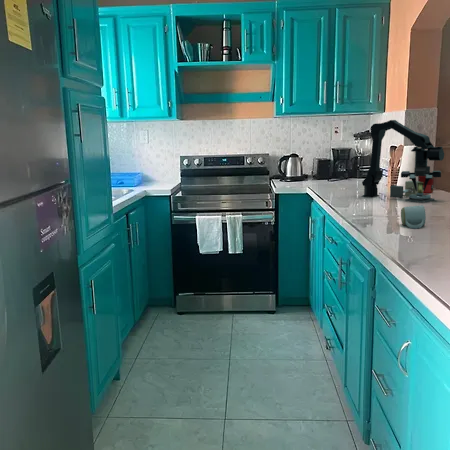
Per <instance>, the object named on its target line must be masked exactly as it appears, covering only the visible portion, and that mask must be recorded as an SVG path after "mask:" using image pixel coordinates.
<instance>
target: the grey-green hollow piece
mask: <svg viewBox="0 0 450 450" xmlns="http://www.w3.org/2000/svg"><path fill="white" fill-rule="evenodd" d="M418 182H420V181H418V180H416V183H417V191H418ZM404 185H405V186H404V187H405V189H410V188H413V191H412V192H407V193H404V194H403V197H405V196H406V197H407V198H409V195H412V194H417V191H416V190H415V186H414V183H413V181H412V180H406V181H405V184H404ZM405 189H404V190H405Z"/></svg>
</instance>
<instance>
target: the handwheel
mask: <svg viewBox="0 0 450 450" xmlns="http://www.w3.org/2000/svg"><path fill="white" fill-rule="evenodd" d="M430 198H432V196H431V194H423V182H418V191H417V194H412V195H409V197H408V199H415V200H426V199H430Z"/></svg>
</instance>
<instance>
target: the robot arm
mask: <svg viewBox="0 0 450 450" xmlns="http://www.w3.org/2000/svg"><path fill="white" fill-rule="evenodd" d="M391 129H392V130H394V131H395V132H397V133H399V134H400V135H402V136H404V137H405V138H406V139H408V140H409V141H410V142H411V144H413V145H414V147H413V148H411V150H410V151H411V152H414V153H415V155H414V157H415V158H414V169H413V170H414V172H411V171H410V170H405V171H404V170H402V171H401V172H400V178H409V180H411V181H413V183H414V186H415V190H416V191H417V183H416V181H417V177H418V176H426V179H425V184H424V191H425V188H426V186H427V183H428V181H429V180H430V179H432V176H433V177H434V178H441V177H442V171H441V170H432V171H431V166H429V165H428V160H429V161H432V162H433V161H434V162H435V161H440V162H441V161H443V160H444V158H445V151H444V149H443V146H434V145H433V143H432V141H431V140H430V138H431V137H430V136H429V135H426V134H424V133H420V132H418V131H414V130H412V129H411V128H409V127H407V126H406V125H404V124H403V123H401V122H399V121H398V120H396V119H391V120H388V121H385V122H379V123H373V124H372V125H371V126H370V128H369V131H370V137H371V140H372V145H371V156H370V167H369V168H368V170H367V172H366V177H365V178H364V179H363V180H362V182H361V184H362V186H363V187H364V189H363V193H364V194H363V195H361V196H362V197H366V198H367V197H369V198H373V197H374V198H375V197H379V196H380V195H379V194H378V191H379V190H378V189H379V188H378V185H379V184H380V181H382V178H384V176H383V174H384V170H383V169H381V166H380V165H381V156H382V155H381V152H382V146H383V145H382V142H383V139H384V137H385V135H386V132H387V131H390V130H391Z"/></svg>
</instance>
